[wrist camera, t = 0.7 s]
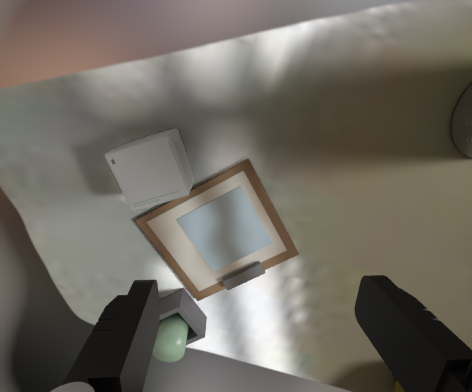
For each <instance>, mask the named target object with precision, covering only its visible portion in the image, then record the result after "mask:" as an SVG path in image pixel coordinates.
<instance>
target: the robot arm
mask: <svg viewBox="0 0 472 392" xmlns="http://www.w3.org/2000/svg"><path fill="white" fill-rule="evenodd" d="M451 130H452V138H453V141H454V144H455V145H456V147H457V148H458V150H459V151H460V152H461V153H463V154H464V155H465V156H468V157H470V158H472V85H471V86H470V87H469V88H468V89H467V90H466V92H465V93H464V94H463V96H462V97H461V99H460V101H459V103H458V105H457V106H456V109H455V112H454V115H453V119H452V126H451ZM355 316H356V319H357V321H358V323H359V325H360V327H361V328H362V329H363V331H364V332H365V334H366V335H367V337H368V338H369V340H370V341H371V343H372V344H373V346H374V347H375V349H376V350H377V352H378V353H379V355H380V356H381V358H382V359H383V360H384V362H385V363H386V365H387V366H388V368H389V369H390V371H391V372H392V374H393V375H394V377H395V378H396V380H397V381H398V383H399V384H400V386H401V387H402V388H403V390H404V391H405V392H472V350H471V349H470V348H469V347H468V346H467V345H466V344H465V343H464V342H463V341H461V340H460V339H459V338H458V337H457V336H456V335H455V334H454V333H453V332H452V331H451V330H450V329H449V328H447V327H446V326H445V325H444V324H443V323H442V322H441V321H438V319H437V317H436V316H435V315H433V314H432V313H431V312H430V311H428V310H427V308H426V307H425V306H424V305H423V304H422V303H420V302H419V301H418V300H417V299H416V298H415V297H413V296H412V295H410V294H408V293H407V292H405V291H404V290H402V289H400V288H398V287H397V286H396V285H395V284H394V283H393V282H392V281H391V280H390V279H389V278H388V277H386V276H384V275H373V276H363V277H362V279H361V282H360V287H359V291H358V295H357V300H356V304H355ZM159 319H160V311H159V298H158V286H157V281H156V280H135V281H134V282H133V284H132V286H131V288H130V290H129V293H128V295H118V296H117V297H116V298H115V299H113V300H112V301H111V302H110V303H109V304H108V305H107V306H106V307H105V309H104V311H103V312H102V314H101V316H100V318H99V319H98V322H97V323H96V325H95V327H94V329H93V330H92V334H90V336H89V337H88V339H87V341H86V343H85V344H84V346H83V348H82V350H81V352H80V354H79V355H78V357H77V359H76V361H75V363H74V364H73V366H72V368H71V370H70V371H69V373H68V375H67V377H66V379H65V380H64V382H63V384H62V385H61V386H60V387H58V388H56V389H54V390H52V391H51V392H142V390H143V387H144V383H145V379H146V375H147V371H148V367H149V363H150V360H151V356H152V352H153V348H154V344H155V340H156V337H157V333H158V328H159Z"/></svg>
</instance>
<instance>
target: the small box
mask: <svg viewBox="0 0 472 392" xmlns="http://www.w3.org/2000/svg"><path fill="white" fill-rule="evenodd" d="M104 156H105V158H106V160H107V162H108V164H109V166H110V168H111V170H112V172H113V174H114V176H115V178H116V180H117V182H118V184H119V186H120V188H121V190H122V192H123V194H124V196H125V198H126V200H127V202H128V204H129V206H130V208H131V210H132V211H136V210H140V209H144V208H147V207H151V206H154V205H158V204H161V203H165V202H168V201H171V200H175V199H178V198H182V197H185V196H188V195H189V193H190V190H191V188H192V185H193V182H194V180H195V178H194V175H193V172H192V169H191V166H190V163H189V160H188V157H187V154H186V151H185V148H184V145H183V142H182V139H181V136H180V134H179V131H178V129H176V128H175V129H170V130H167V131H163V132H160V133H156V134H153V135H150V136H146V137H143V138H140V139H137V140H134V141H131V142H128V143H125V144H123V145H121V146H119V147H117V148H115V149H113V150H111V151H109V152H107V153H105V154H104Z"/></svg>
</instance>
